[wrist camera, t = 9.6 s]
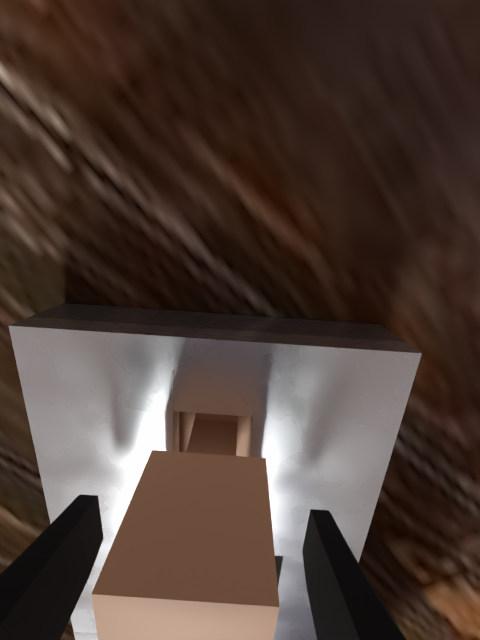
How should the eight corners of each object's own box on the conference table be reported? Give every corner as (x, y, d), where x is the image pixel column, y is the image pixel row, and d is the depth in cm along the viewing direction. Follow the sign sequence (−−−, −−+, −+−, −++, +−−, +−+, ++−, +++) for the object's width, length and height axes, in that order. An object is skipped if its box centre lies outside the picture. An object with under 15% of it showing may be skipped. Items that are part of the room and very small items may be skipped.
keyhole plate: (313, 604, 18) (325, 672, 16) (104, 591, 18) (79, 657, 16) (380, 324, 12) (421, 353, 9) (64, 302, 12) (8, 325, 9)
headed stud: (260, 465, 15) (277, 713, 7) (168, 459, 15) (88, 701, 7) (270, 385, 13) (306, 594, 6) (167, 377, 13) (64, 576, 6)
